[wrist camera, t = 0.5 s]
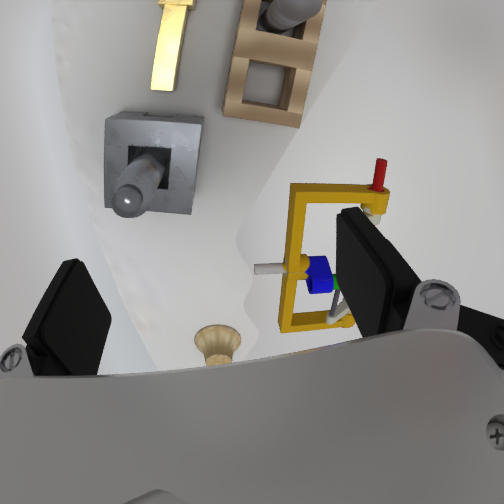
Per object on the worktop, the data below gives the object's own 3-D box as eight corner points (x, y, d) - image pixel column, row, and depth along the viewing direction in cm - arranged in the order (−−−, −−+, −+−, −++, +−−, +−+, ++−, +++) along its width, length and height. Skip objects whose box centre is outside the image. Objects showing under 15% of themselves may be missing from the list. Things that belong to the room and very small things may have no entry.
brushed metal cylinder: (145, 137, 34) (103, 180, 21) (174, 139, 34) (148, 183, 22) (143, 165, 36) (105, 222, 23) (171, 167, 36) (147, 226, 24)
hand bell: (228, 318, 51) (235, 401, 38) (248, 346, 55) (258, 422, 42) (185, 333, 52) (182, 413, 39) (208, 358, 57) (210, 433, 43)
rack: (246, -14, 25) (259, -49, 15) (314, 1, 26) (355, -23, 16) (222, 110, 33) (224, 127, 23) (288, 121, 35) (319, 143, 25)
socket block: (121, 111, 31) (105, 119, 26) (203, 116, 33) (201, 124, 28) (118, 187, 37) (104, 207, 32) (194, 194, 39) (190, 214, 34)
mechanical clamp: (410, 172, 33) (360, 341, 50) (387, 157, 39) (349, 316, 55) (263, 165, 32) (255, 353, 48) (256, 150, 37) (251, 325, 53)
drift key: (165, -3, 24) (160, -10, 22) (196, -2, 25) (194, -9, 22) (149, 88, 30) (143, 89, 28) (180, 89, 31) (176, 91, 28)
